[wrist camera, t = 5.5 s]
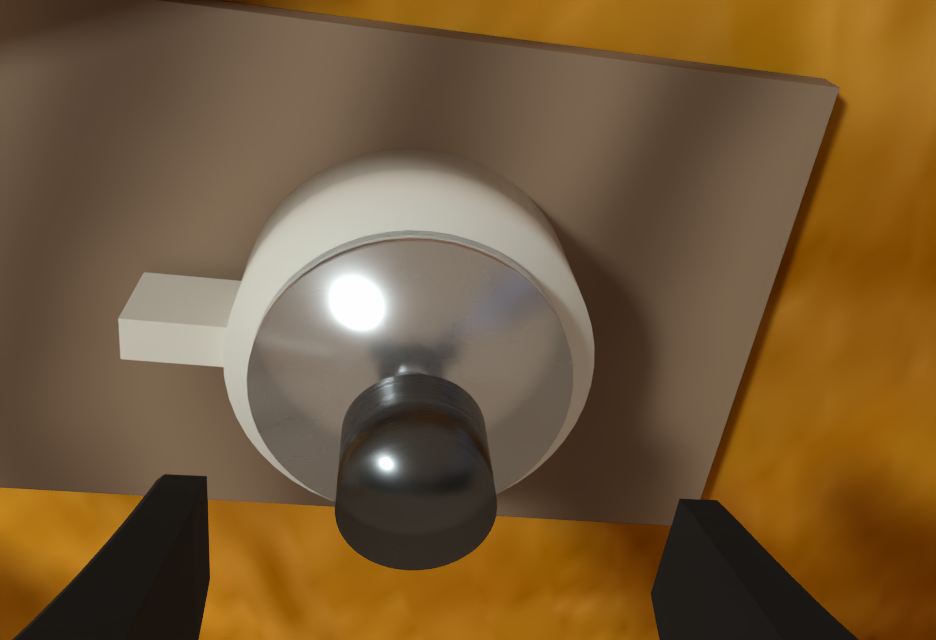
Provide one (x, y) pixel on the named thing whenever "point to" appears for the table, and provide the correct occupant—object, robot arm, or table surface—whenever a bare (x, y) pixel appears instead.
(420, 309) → the pot lid
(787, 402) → the table surface
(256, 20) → the board
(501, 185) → the white mug
